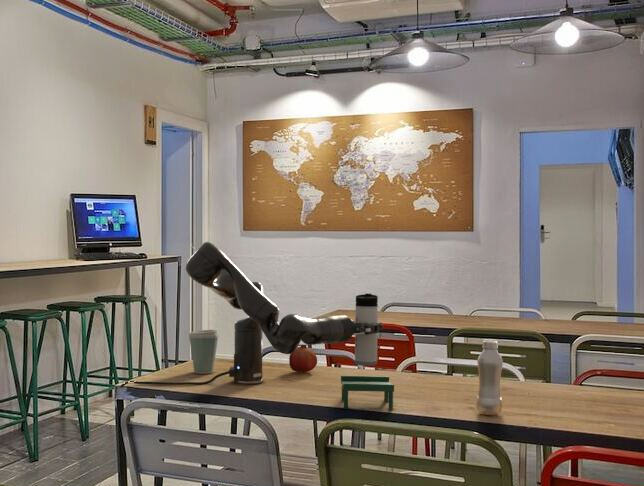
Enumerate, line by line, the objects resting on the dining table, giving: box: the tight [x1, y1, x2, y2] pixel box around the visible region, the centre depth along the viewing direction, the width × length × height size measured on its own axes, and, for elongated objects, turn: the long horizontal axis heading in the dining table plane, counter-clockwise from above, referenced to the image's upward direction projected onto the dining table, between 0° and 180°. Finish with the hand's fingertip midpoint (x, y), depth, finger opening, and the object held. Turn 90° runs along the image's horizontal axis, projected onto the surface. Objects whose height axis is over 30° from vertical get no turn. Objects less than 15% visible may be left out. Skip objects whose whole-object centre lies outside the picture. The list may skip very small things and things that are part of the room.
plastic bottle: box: [475, 339, 504, 416], centre depth 201 cm, size 6×7×20 cm
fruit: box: [288, 343, 318, 374], centre depth 262 cm, size 11×10×10 cm
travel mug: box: [354, 293, 379, 367], centre depth 212 cm, size 6×7×20 cm
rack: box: [340, 375, 395, 411], centre depth 213 cm, size 14×12×7 cm
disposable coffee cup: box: [188, 329, 219, 375], centre depth 263 cm, size 11×11×15 cm
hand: (372, 325), depth 213 cm, fingers closed on travel mug, 6 cm apart
